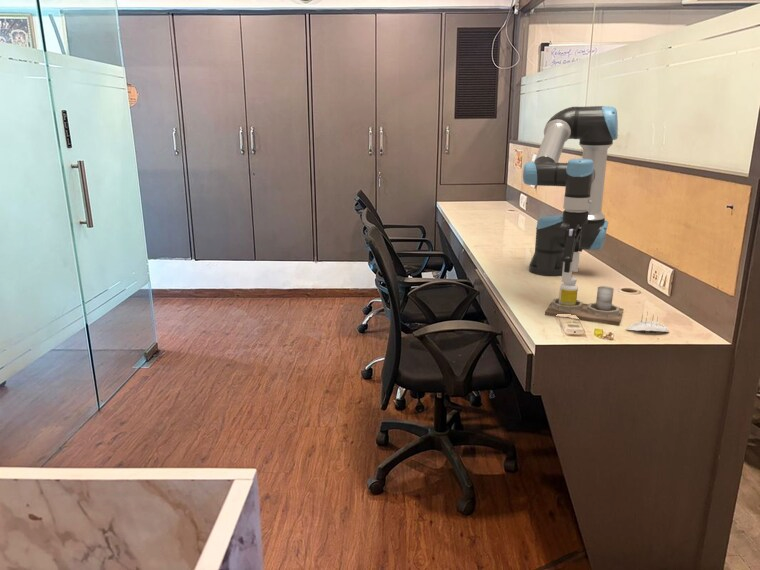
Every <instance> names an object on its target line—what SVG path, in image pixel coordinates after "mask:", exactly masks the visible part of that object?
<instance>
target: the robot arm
mask: <svg viewBox="0 0 760 570" xmlns="http://www.w3.org/2000/svg"><path fill="white" fill-rule="evenodd" d="M618 121H619V120H618V110H617V108H616V107H614V106H609V105H608V106H607V105H605V106H604V105H600V106H599V105H595V106H593V105H591V106H570V107H567V108H564V109H561V110H560V111H558V112H556V113H555V114H554V115H553V116H551V117H550V119H549V120H548V121H547V123H545V126H544V129H543V135H544V136H543V138H542V141H541V142H540V143H541V144H540V146H539V149H538V151H537V154H536V156H535V159H534V160H533V161H527V162H525V164H524V165H523V170H522V171H523V173H522V179H523V183H524V185H527V186H534V187H539V186H540V187H563V188H564V187H565V188H564V189H565V190H564V197H563V204H562V205H563V206H562V207H563V209H564V210H563V212H562V213H557V214H556V213H555V214H554V213H553V214H546V215H542V216H540V217H539V218H538V219H537V221H536V227H535V230H536V232H535V243H534V244H535V245H534V246H535V247H534V253H533V256H532V258H531V261H530V263H529V266H528V271H529V272H531V273H532V274H535V275H540V276H548V277H550V276H552V277H555V276H561V282H562V283H563V282H569V283H571V277H572V274H573V272H575V273H578V272H579V263H580V262H579V261H580V253H581V252H583V250H588V251H600V250H601V249H602V248H603V245H604V242H605V237H606V233H607V229H608V226H609V221H608V220H605V217H606V216H605V214H604V213H603V212H602V208H603V198H604V189H605V177H606V169H607V168H606V167H607V159H608V150H609V148H610V147H611V146H613V144H614V143H613V142H614V141H616V140H617V139H618V136H619V133H618V132H619V129H618V127H619V125H618ZM568 140H579V142H578V144H579V146H580V147H581V149H582V158H571V159H569V160H568V162H559V160H560V158H561V154H562V153H563V149H564V146H565V143H566V142H567V141H568Z"/></svg>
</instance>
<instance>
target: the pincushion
mask: <svg viewBox="0 0 760 570" xmlns="http://www.w3.org/2000/svg"><path fill="white" fill-rule="evenodd" d="M648 312H649V311H647V314H646V315H648V314H649V313H648ZM643 315H644V314H642V316H641V318H643ZM652 315H653V316H652V320H651V321H648V319H645V320H641V321H638V322H633V323H631V324H630V326H628V327H626V328H625V330H626V331H637V332H641V331H644V332H643V333H644V334H645V333H646V331H648V332H649V331H650V332H654V334H656V333H657V332H664V333H665V332H666V333H670V330H669V329H668V327H667V326H665V325H664V324H661V323H660V322H658V321H656V322H655V321H654V317H655V316H654V314H652ZM658 318H659V316H657V319H656V320H659V319H658Z"/></svg>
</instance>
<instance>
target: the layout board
mask: <svg viewBox="0 0 760 570" xmlns="http://www.w3.org/2000/svg"><path fill="white" fill-rule="evenodd" d="M596 291H597V292H596V299H595V300H596V301H595V302H591V303H584V302H583V301H580V300H578V299H577V300H576V306H565V305H560V304H558V303H559V297H558V298H554V299H553V300H552V301H551V303H550V304H549V305H548V306H547V308H546V310H545V311H544V316H549V317H556V315H557V314H571V315H576V316H577V317H578V318H579V319H580V320H579V321H584V322H591V323H598V324H607V325H612V326H617V327H618V326H620V325H621V322H622V318H623V315H622V314H624V308H621V307H620V306H617V305H615V304H613V298H614V291H615V290H614V287H611V286H606V285H605V286H603V285H600V286H597V290H596Z"/></svg>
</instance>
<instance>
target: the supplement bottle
mask: <svg viewBox="0 0 760 570" xmlns="http://www.w3.org/2000/svg"><path fill="white" fill-rule="evenodd" d="M578 291H579V289H578V285H577V278H576V277H572V276H571V283H569V282H562V284H560V287H559V295H558V298H559V303H558V304H560V305H565V306H576V300H578V299H577V298H578Z"/></svg>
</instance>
